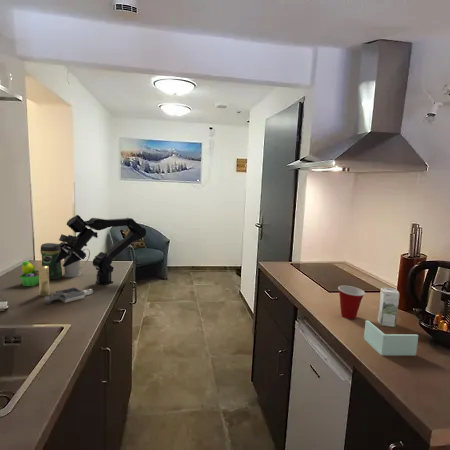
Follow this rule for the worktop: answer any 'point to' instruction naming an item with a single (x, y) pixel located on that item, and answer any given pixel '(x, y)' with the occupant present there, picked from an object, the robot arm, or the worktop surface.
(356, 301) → the plastic cup
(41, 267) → the brass pin
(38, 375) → the worktop surface
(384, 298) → the syrup box
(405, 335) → the l-shaped corner panel
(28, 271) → the fruit basket
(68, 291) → the ball-tipped frame bar
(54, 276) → the coffee jar
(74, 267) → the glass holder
